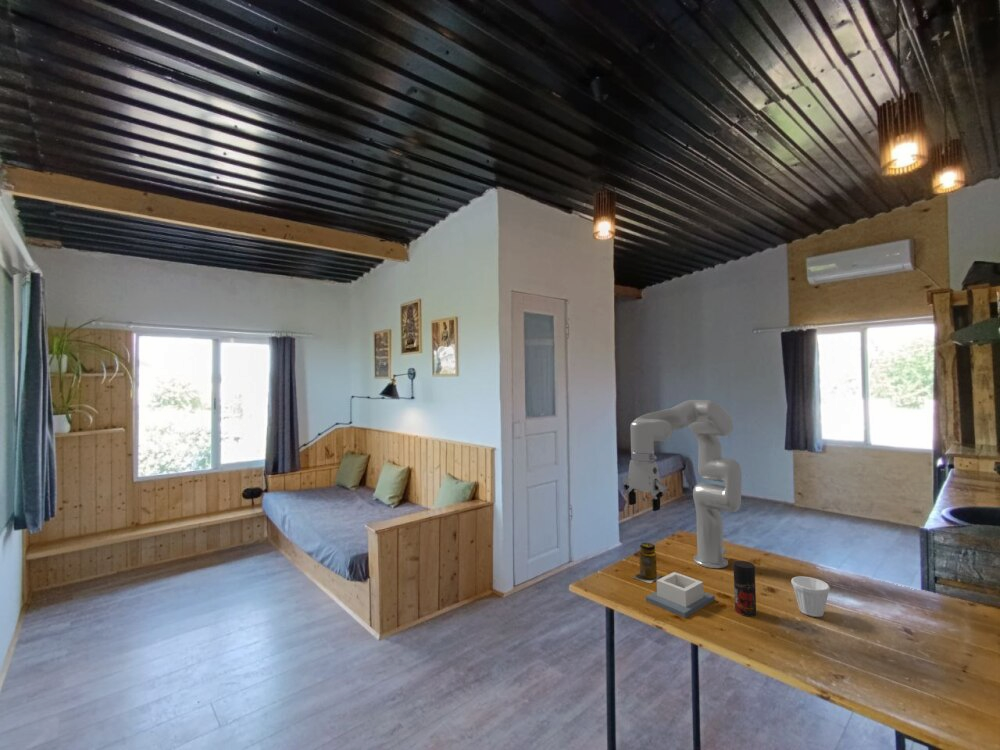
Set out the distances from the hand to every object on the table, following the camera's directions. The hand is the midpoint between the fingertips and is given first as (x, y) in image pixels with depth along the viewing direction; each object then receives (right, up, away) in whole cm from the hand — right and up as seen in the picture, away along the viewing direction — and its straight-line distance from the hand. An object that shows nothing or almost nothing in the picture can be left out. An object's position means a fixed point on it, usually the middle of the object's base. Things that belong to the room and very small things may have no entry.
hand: (644, 507), depth 155 cm
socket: (+11, -30, -4) cm, 32 cm away
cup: (+48, -29, -13) cm, 58 cm away
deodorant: (+28, -30, -12) cm, 43 cm away
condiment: (+6, -31, +15) cm, 35 cm away
